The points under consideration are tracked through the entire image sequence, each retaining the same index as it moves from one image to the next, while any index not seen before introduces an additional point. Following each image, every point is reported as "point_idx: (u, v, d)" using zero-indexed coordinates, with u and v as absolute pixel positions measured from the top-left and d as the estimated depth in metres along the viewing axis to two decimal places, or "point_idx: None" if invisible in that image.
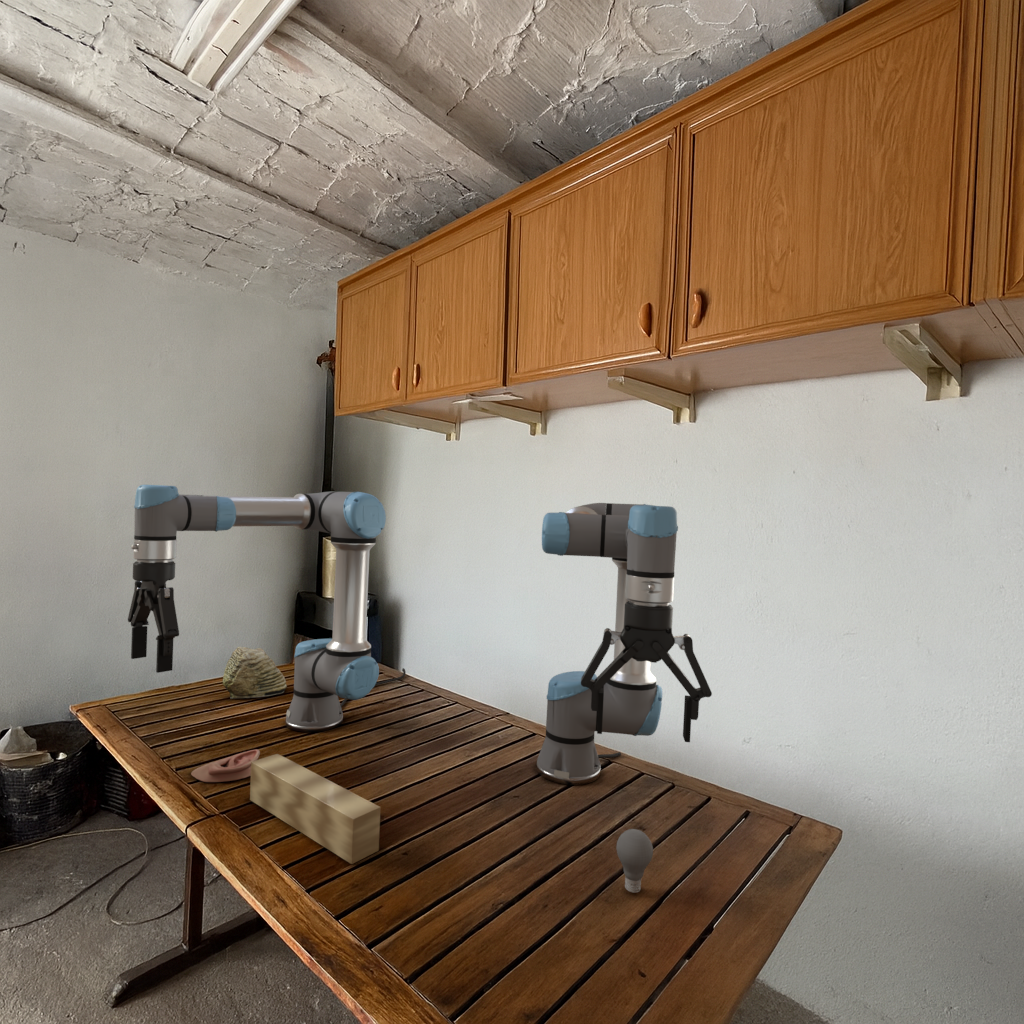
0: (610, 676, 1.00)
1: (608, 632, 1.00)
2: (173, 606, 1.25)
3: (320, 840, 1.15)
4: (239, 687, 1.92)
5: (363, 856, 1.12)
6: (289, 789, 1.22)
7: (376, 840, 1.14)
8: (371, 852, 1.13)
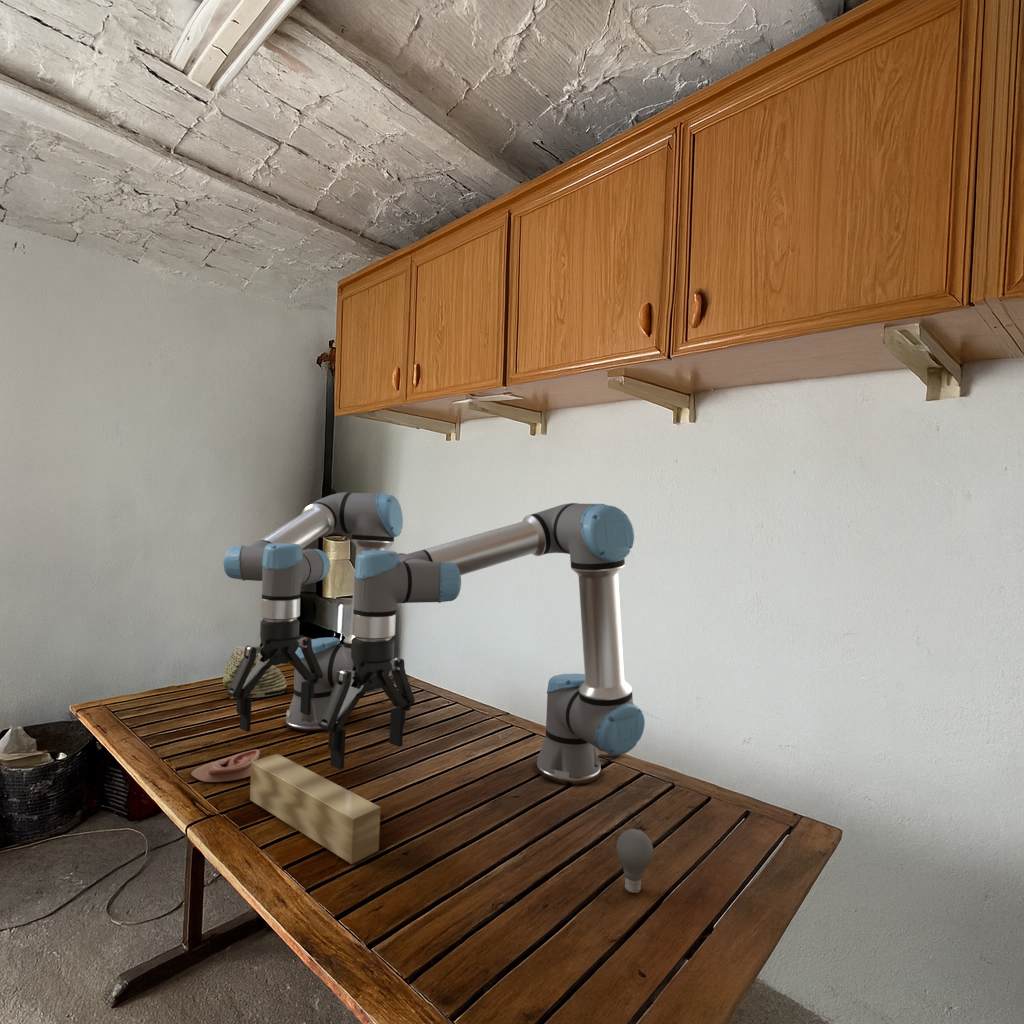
0: (388, 695, 1.18)
1: (392, 657, 1.19)
2: (245, 666, 1.24)
3: (320, 840, 1.15)
4: None
5: (363, 856, 1.12)
6: (289, 789, 1.22)
7: (376, 840, 1.14)
8: (371, 852, 1.13)
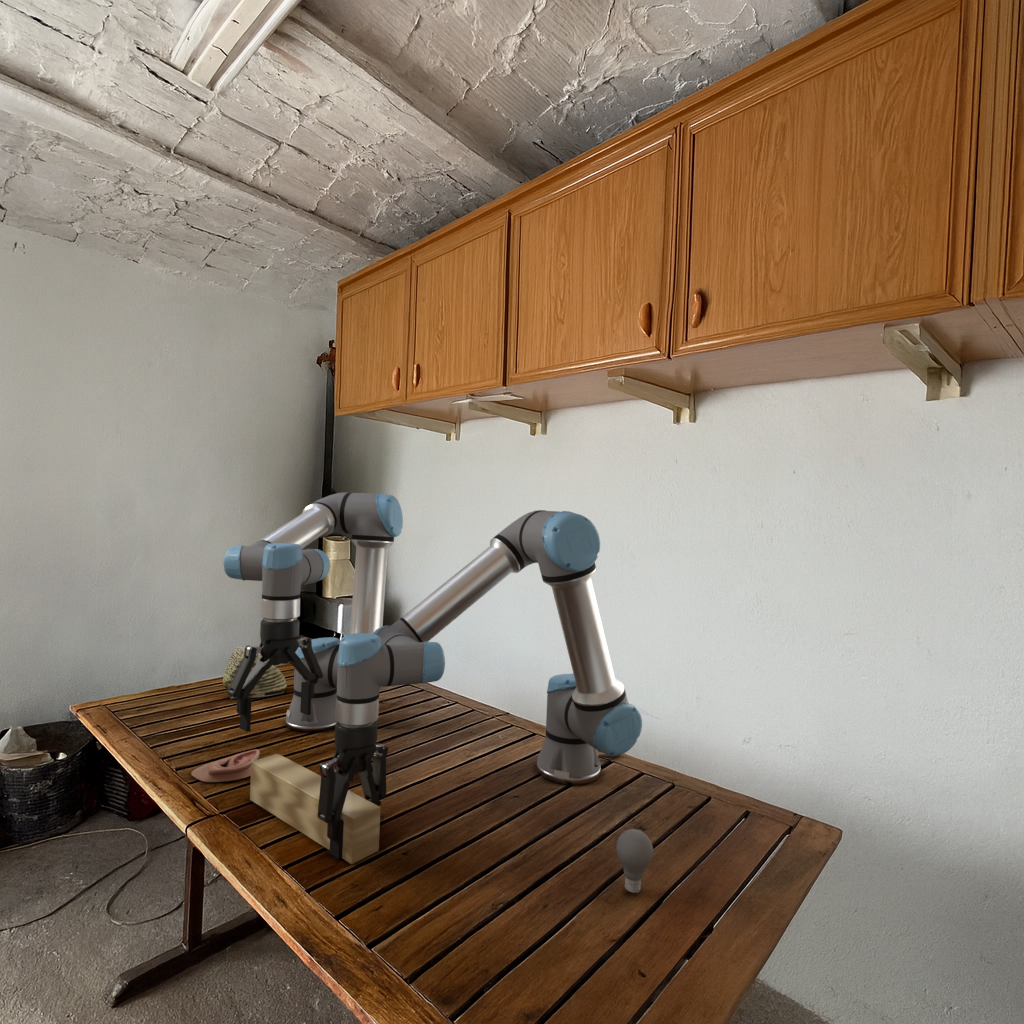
0: None
1: None
2: (245, 666, 1.24)
3: (320, 840, 1.15)
4: None
5: (363, 856, 1.12)
6: (289, 789, 1.22)
7: (376, 840, 1.14)
8: (371, 852, 1.13)
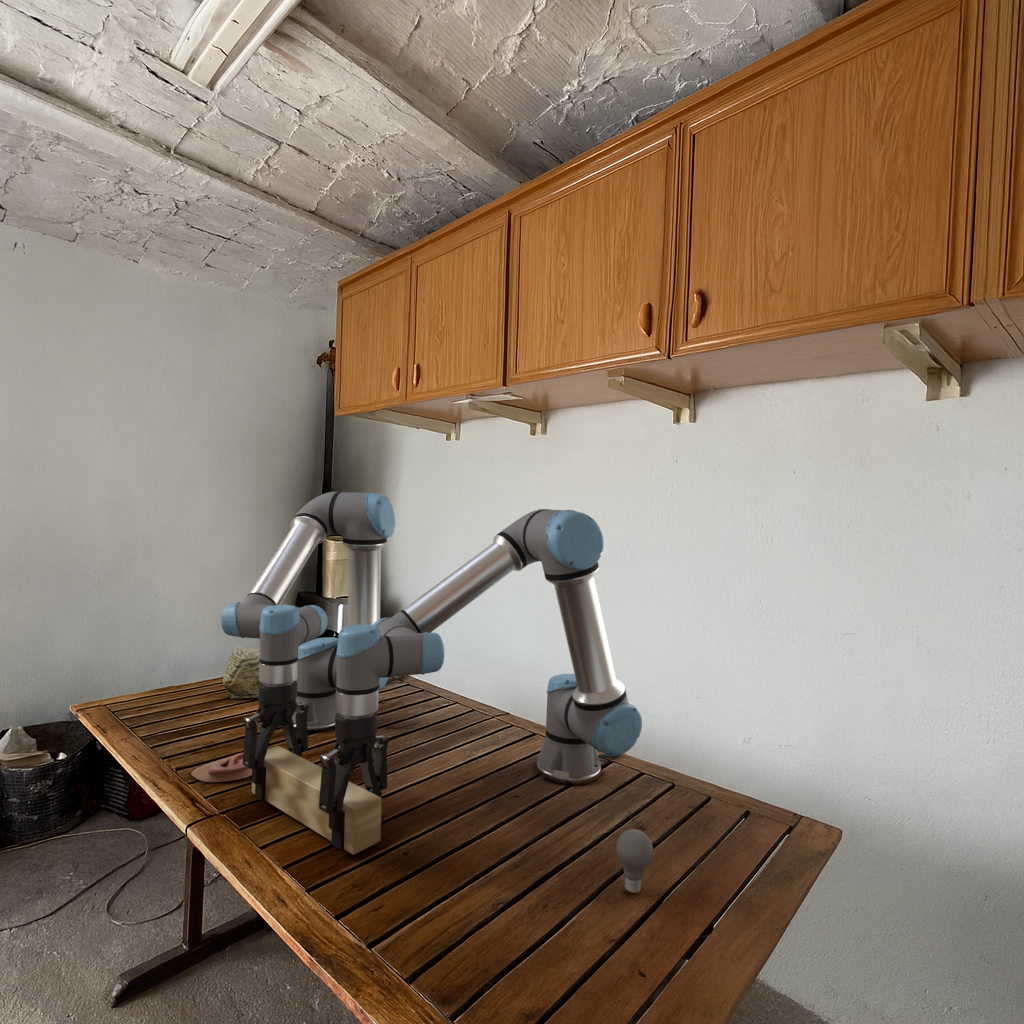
0: None
1: (378, 735, 1.20)
2: (250, 739, 1.25)
3: (322, 831, 1.16)
4: (239, 687, 1.92)
5: (365, 847, 1.12)
6: (290, 781, 1.22)
7: (378, 831, 1.14)
8: (373, 843, 1.13)
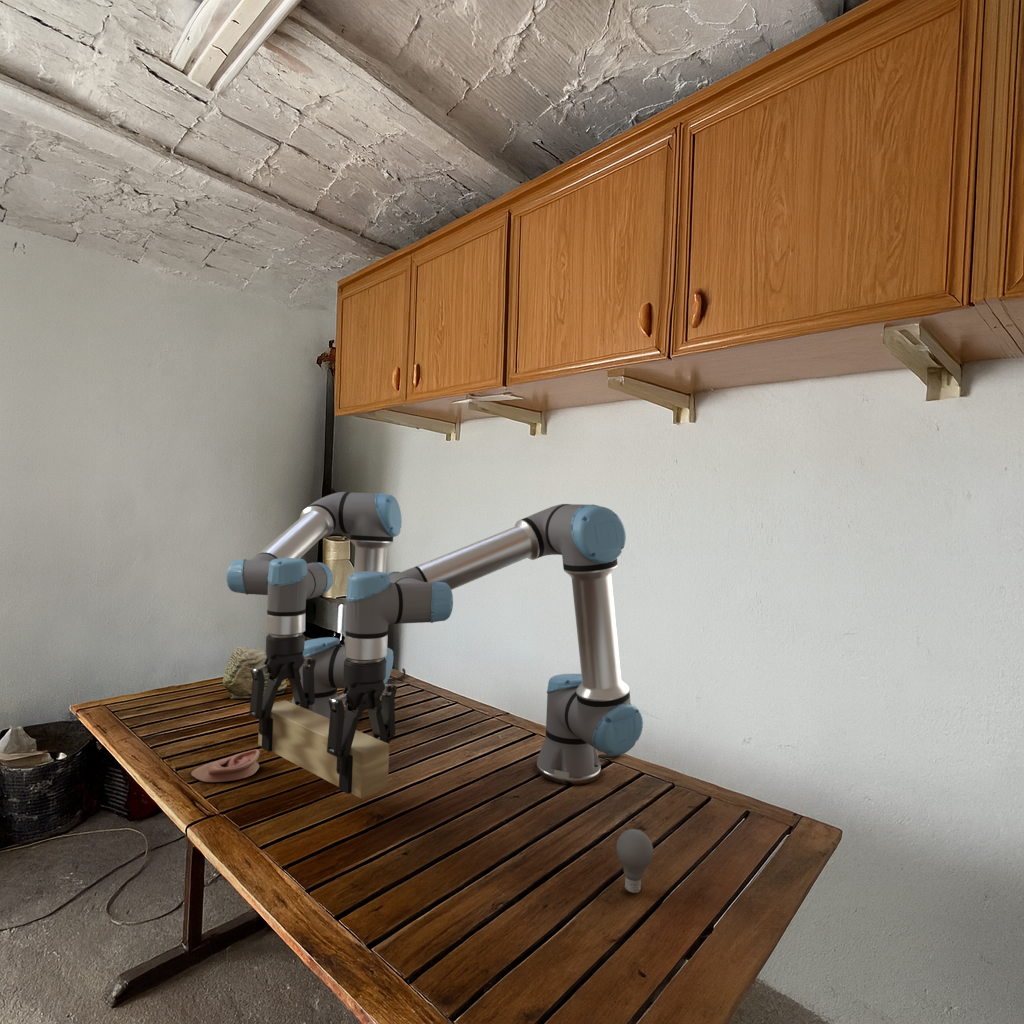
0: None
1: (386, 683, 1.20)
2: (257, 689, 1.25)
3: (329, 778, 1.16)
4: (239, 687, 1.92)
5: (372, 792, 1.12)
6: (297, 730, 1.22)
7: (385, 777, 1.14)
8: (380, 788, 1.13)
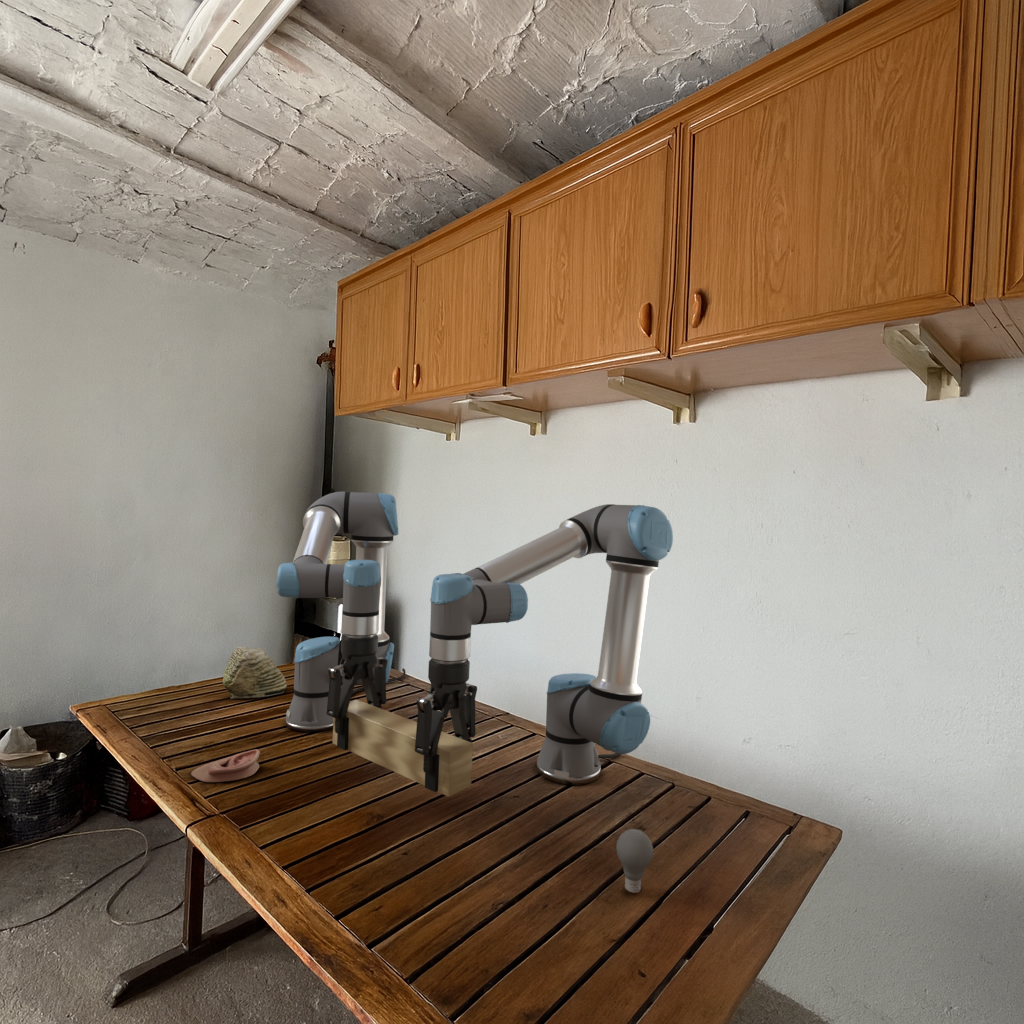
0: None
1: (466, 684, 1.22)
2: (335, 688, 1.27)
3: (413, 776, 1.18)
4: (239, 687, 1.92)
5: (458, 790, 1.14)
6: (377, 729, 1.24)
7: (469, 775, 1.16)
8: (465, 786, 1.16)
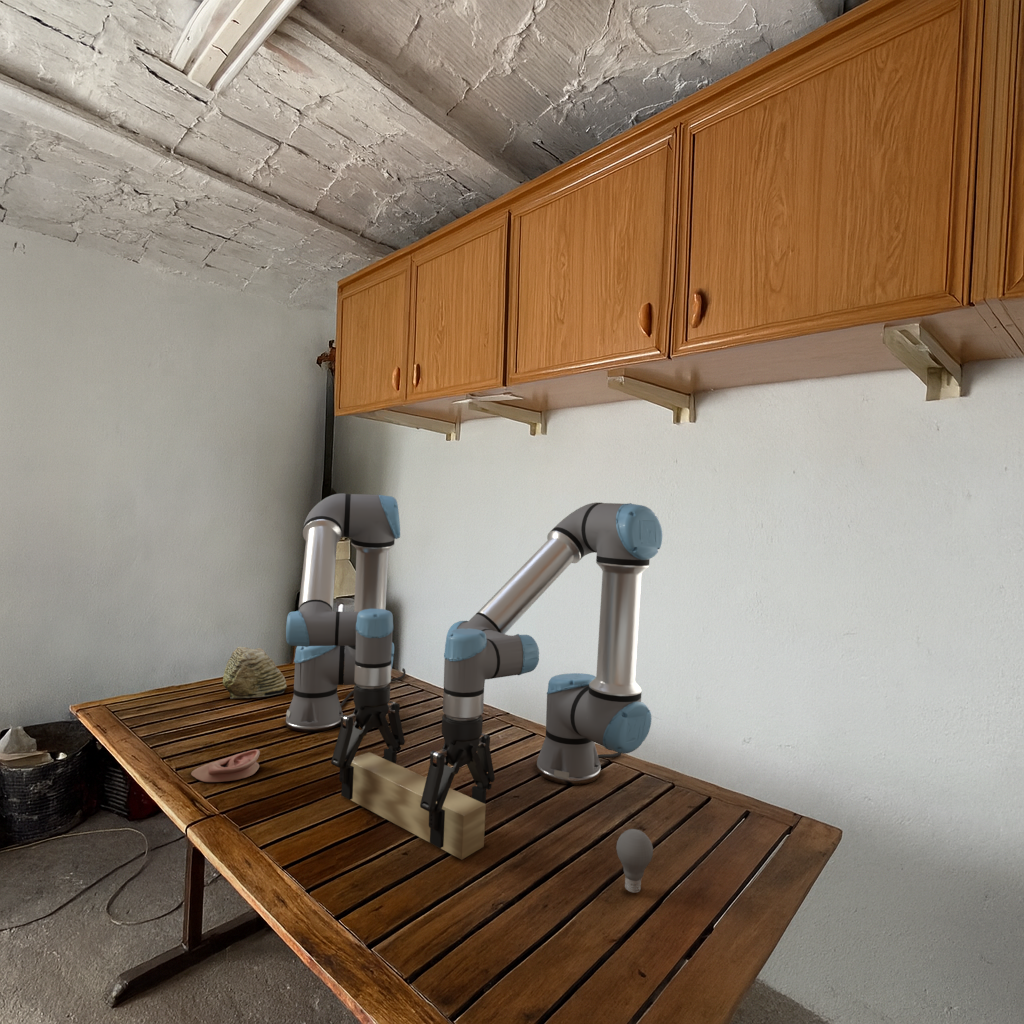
0: None
1: None
2: (345, 737, 1.27)
3: (426, 836, 1.18)
4: (239, 687, 1.92)
5: (471, 852, 1.15)
6: (390, 787, 1.25)
7: (482, 836, 1.17)
8: (477, 848, 1.16)
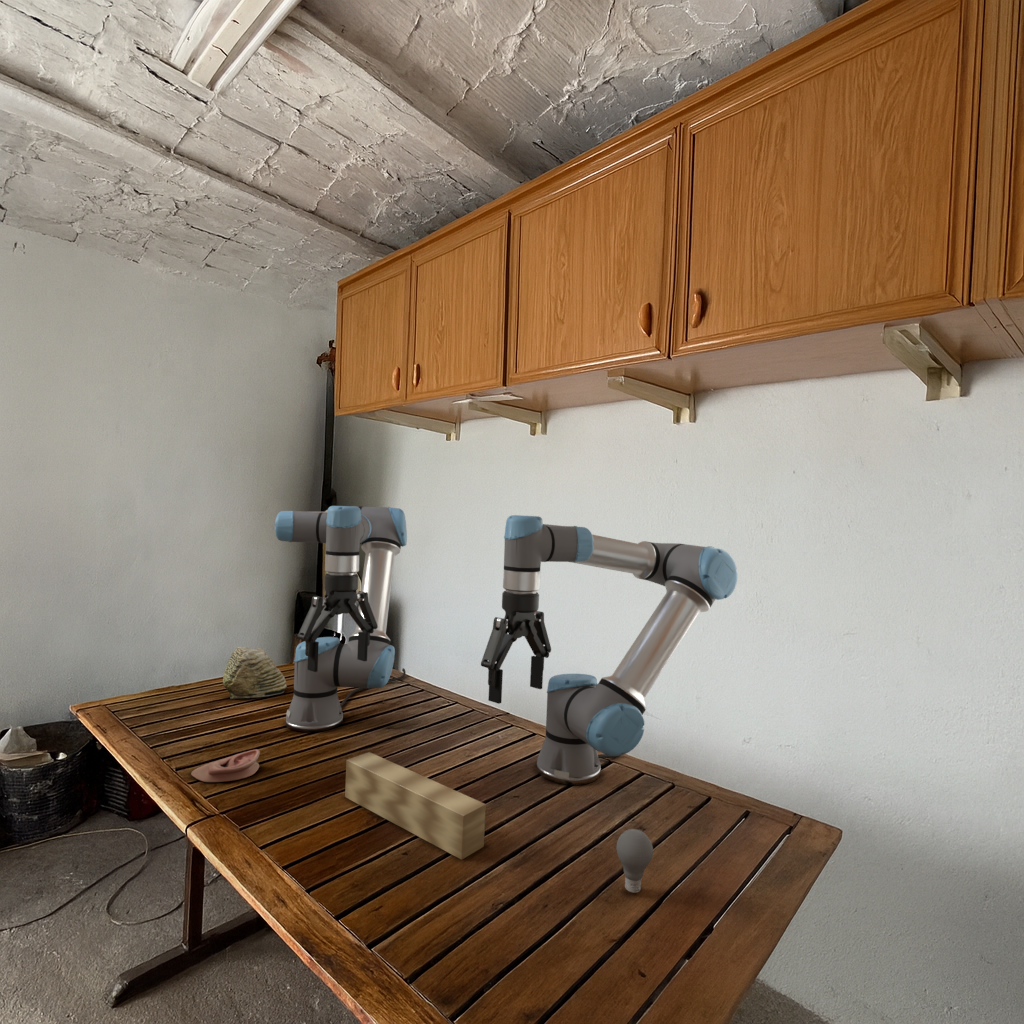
0: None
1: None
2: (313, 613, 1.39)
3: (426, 836, 1.18)
4: (239, 687, 1.92)
5: (471, 852, 1.15)
6: (390, 787, 1.25)
7: (482, 836, 1.17)
8: (477, 848, 1.16)
